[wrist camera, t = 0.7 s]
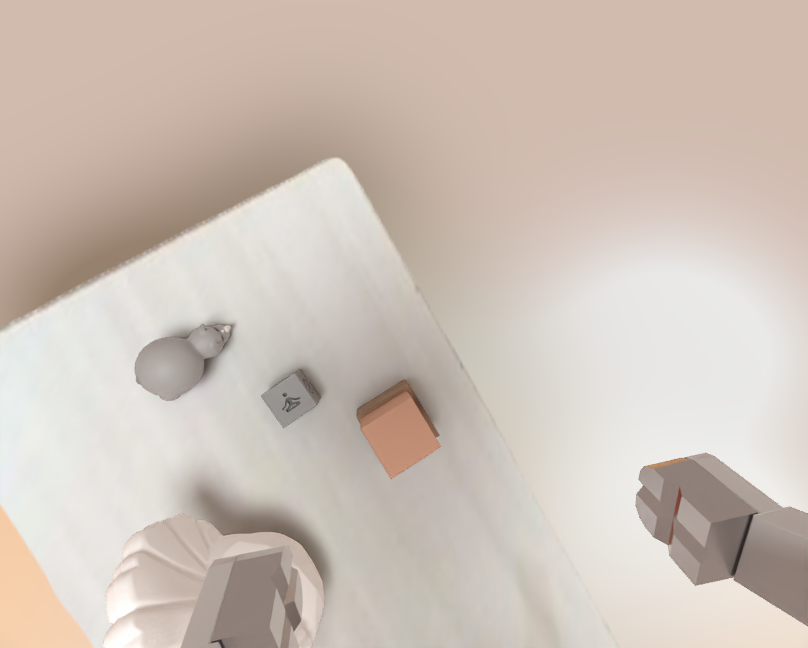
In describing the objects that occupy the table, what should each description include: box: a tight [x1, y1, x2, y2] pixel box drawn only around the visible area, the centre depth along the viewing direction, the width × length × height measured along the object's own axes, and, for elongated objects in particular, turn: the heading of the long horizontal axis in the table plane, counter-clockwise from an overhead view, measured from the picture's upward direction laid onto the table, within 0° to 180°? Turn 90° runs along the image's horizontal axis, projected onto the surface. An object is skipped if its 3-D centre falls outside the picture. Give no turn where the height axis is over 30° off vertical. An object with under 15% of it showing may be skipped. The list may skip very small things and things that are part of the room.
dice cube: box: [261, 369, 320, 428], centre depth 50 cm, size 5×5×5 cm
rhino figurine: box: [135, 324, 231, 401], centre depth 48 cm, size 7×12×8 cm, turn 128°
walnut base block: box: [357, 380, 439, 437], centre depth 52 cm, size 8×8×5 cm
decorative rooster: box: [103, 514, 324, 648], centre depth 40 cm, size 25×16×25 cm, turn 23°
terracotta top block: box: [361, 391, 441, 479], centre depth 47 cm, size 7×7×5 cm
